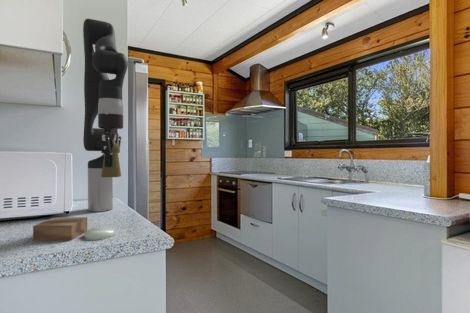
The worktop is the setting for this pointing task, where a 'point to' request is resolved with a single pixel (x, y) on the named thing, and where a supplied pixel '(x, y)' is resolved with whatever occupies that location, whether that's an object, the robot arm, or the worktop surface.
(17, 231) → the worktop surface
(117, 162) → the olive stamp handle
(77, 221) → the walnut plinth
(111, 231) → the white domed disc
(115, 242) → the worktop surface
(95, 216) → the worktop surface
